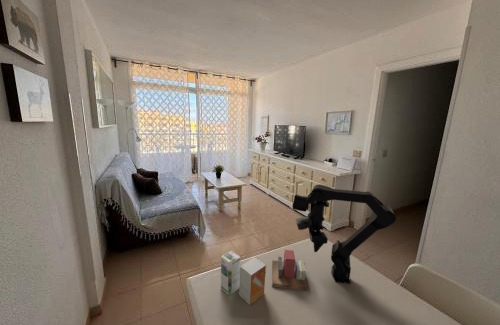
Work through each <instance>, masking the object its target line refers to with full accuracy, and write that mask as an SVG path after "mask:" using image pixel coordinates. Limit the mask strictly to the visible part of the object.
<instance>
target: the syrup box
mask: <svg viewBox="0 0 500 325" xmlns="http://www.w3.org/2000/svg"><path fill="white" fill-rule="evenodd" d="M240 266H241V256H240V255H238V254H237V253H235V252H234V251H232V250H230V251H228V252H226V253H224V254H223V255H221V256H220V289H221V290H222V291H223V292H224V293H226V294H227V295H228V296H229V297H230V296H231V295H232V294H234V293H235V292H236V291H237V290H239V283H240Z"/></svg>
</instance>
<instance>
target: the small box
mask: <svg viewBox="0 0 500 325" xmlns="http://www.w3.org/2000/svg"><path fill="white" fill-rule="evenodd" d="M266 267H267V265H266V264H265V263H263V262H262V261H261V260H259V259H258V258H256V257H253V258H251V259H250V260H247V261H246V262H244V263H243V264H242V265H241V264H240V283H239V289H238V290H239V291H238V292H239V293H238V295H239V297H240V298H241V299H243V300H244V302H246V303H247V304H248V306H251V305H252V304H253V303H254V302H256V301H257V300H258V299H259V298H261V297H262V296H263V295H264V294H265V287H266V286H265V284H266V272H267V271H266V269H267V268H266Z"/></svg>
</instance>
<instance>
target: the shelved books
mask: <svg viewBox="0 0 500 325" xmlns="http://www.w3.org/2000/svg"><path fill="white" fill-rule="evenodd" d="M295 274H296V279H297V280H299V279H302V280H305V279H306V268H305V263H304V259H300V260H299V259H297V258H295Z"/></svg>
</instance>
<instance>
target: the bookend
mask: <svg viewBox="0 0 500 325" xmlns="http://www.w3.org/2000/svg"><path fill="white" fill-rule="evenodd" d="M277 258H278V259H277V261H278V278H279V279H282V271H283V268H282V261H283V257H282V256H278V257H277Z"/></svg>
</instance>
